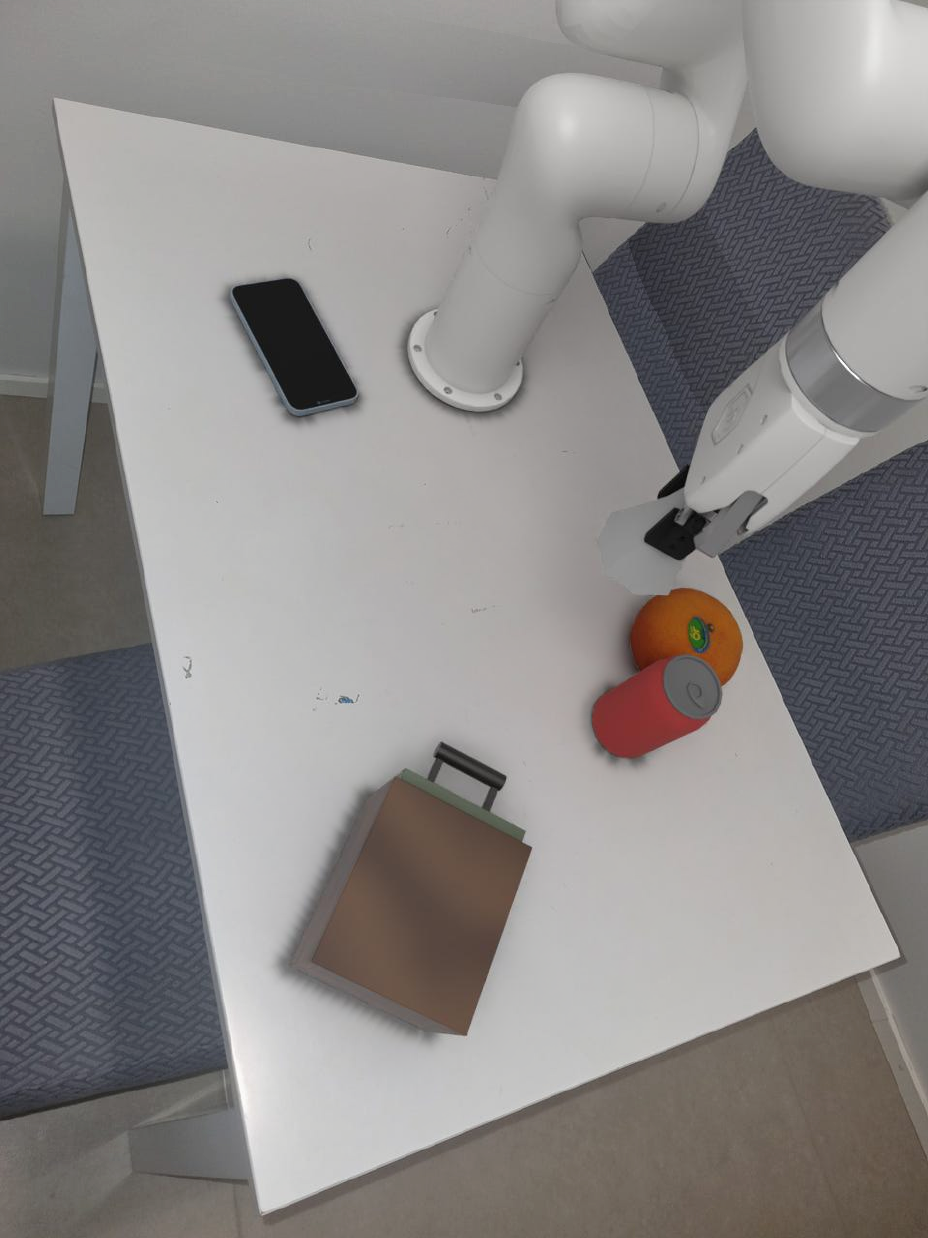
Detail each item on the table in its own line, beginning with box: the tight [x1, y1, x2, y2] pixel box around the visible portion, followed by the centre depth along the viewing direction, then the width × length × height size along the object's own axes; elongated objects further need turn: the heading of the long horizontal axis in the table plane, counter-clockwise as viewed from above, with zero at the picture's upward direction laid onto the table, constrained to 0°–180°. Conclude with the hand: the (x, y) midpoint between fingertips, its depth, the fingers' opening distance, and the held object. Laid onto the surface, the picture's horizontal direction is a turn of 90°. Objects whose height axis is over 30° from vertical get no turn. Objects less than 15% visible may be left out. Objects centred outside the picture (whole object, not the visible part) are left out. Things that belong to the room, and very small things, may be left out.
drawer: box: [395, 741, 527, 842], centre depth 65 cm, size 17×10×7 cm, turn 157°
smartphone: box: [229, 276, 359, 417], centre depth 84 cm, size 7×1×15 cm
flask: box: [596, 487, 717, 596], centre depth 62 cm, size 7×7×10 cm
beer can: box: [591, 654, 723, 759], centre depth 76 cm, size 7×7×12 cm
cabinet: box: [288, 775, 533, 1037], centre depth 64 cm, size 14×12×9 cm
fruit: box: [629, 587, 744, 687], centre depth 82 cm, size 11×10×8 cm
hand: (669, 526), depth 62 cm, fingers closed on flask, 3 cm apart
